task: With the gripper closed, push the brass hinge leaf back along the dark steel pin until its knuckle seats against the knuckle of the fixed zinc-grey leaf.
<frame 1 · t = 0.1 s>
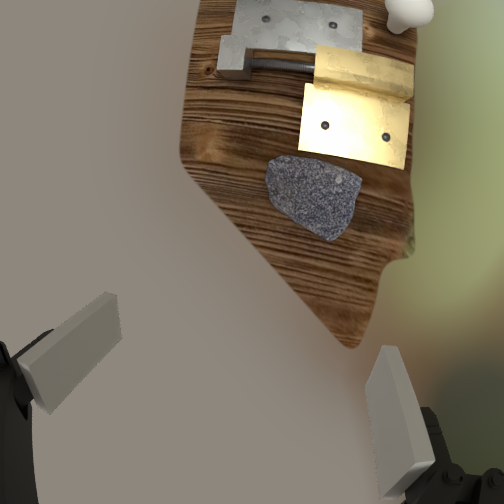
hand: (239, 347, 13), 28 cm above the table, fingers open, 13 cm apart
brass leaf: (360, 106, 31), point 3 cm above the table, slide at 8.0 cm
rock: (308, 194, 38), on the table
zinc leaf: (299, 70, 33), on the table
lightbulb: (393, 29, 28), on the table
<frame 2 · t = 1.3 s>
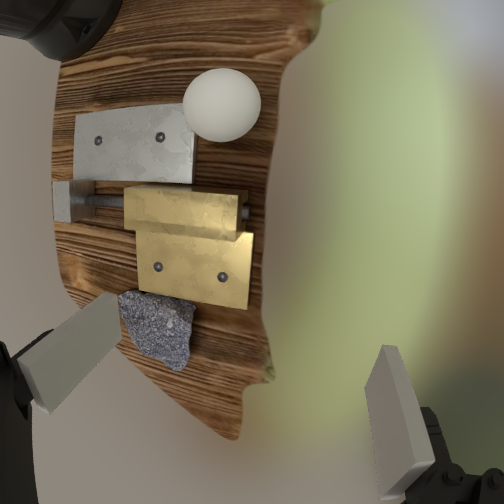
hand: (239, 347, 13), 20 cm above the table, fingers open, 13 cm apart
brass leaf: (184, 250, 31), point 3 cm above the table, slide at 8.0 cm
rock: (161, 321, 38), on the table
zinc leaf: (133, 200, 33), on the table
lightbulb: (242, 118, 29), on the table
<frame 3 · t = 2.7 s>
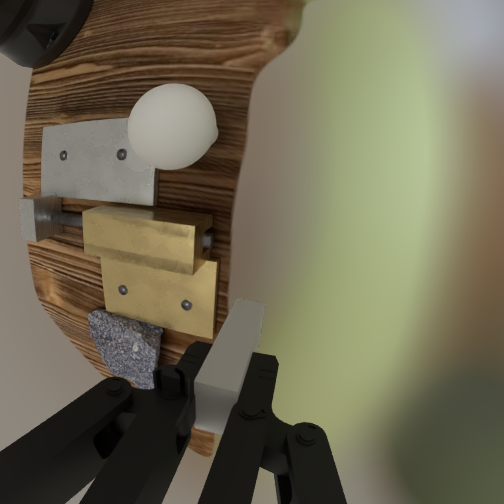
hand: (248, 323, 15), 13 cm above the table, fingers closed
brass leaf: (145, 277, 28), point 3 cm above the table, slide at 8.0 cm
rock: (131, 341, 36), on the table
zinc leaf: (98, 219, 30), on the table
lightbulb: (208, 134, 26), on the table
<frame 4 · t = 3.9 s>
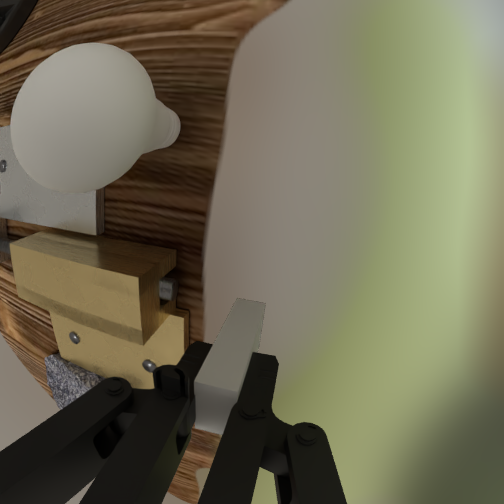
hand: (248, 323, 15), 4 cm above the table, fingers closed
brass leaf: (93, 330, 19), point 3 cm above the table, slide at 8.0 cm
rock: (96, 390, 26), on the table
zinc leaf: (41, 247, 21), on the table
lightbulb: (168, 129, 17), on the table
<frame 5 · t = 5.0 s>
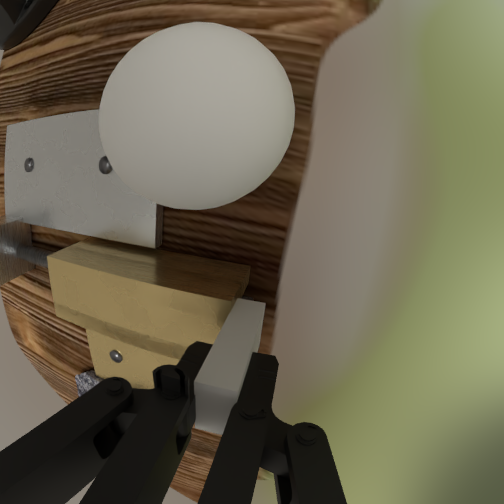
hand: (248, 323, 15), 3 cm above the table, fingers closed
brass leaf: (147, 351, 19), point 3 cm above the table, slide at 8.0 cm, touching gripper
rock: (133, 408, 26), on the table
zinc leaf: (76, 258, 21), on the table
lightbulb: (246, 135, 16), on the table
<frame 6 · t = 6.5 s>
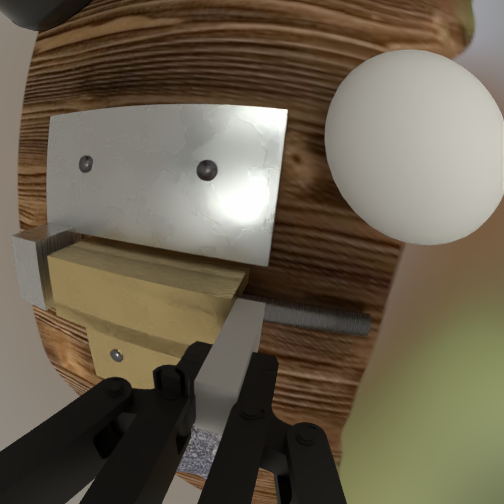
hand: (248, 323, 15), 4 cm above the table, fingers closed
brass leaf: (147, 350, 19), point 3 cm above the table, slide at 0.9 cm, touching gripper
rock: (196, 428, 25), on the table
zinc leaf: (150, 275, 20), on the table
lightbulb: (368, 153, 15), on the table
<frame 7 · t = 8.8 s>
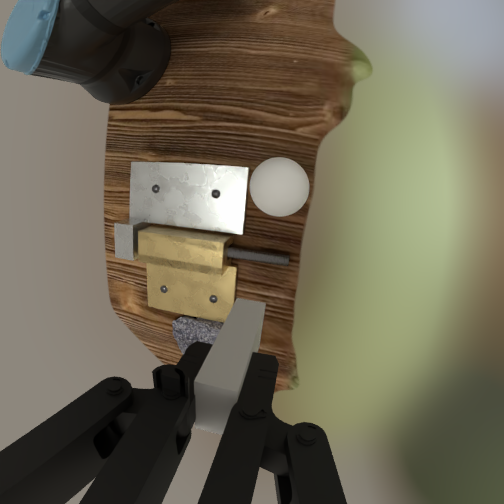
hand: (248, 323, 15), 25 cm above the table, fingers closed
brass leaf: (184, 278, 41), point 3 cm above the table, slide at 0.6 cm
rock: (210, 340, 47), on the table
zinc leaf: (188, 242, 42), on the table
lightbulb: (285, 183, 37), on the table
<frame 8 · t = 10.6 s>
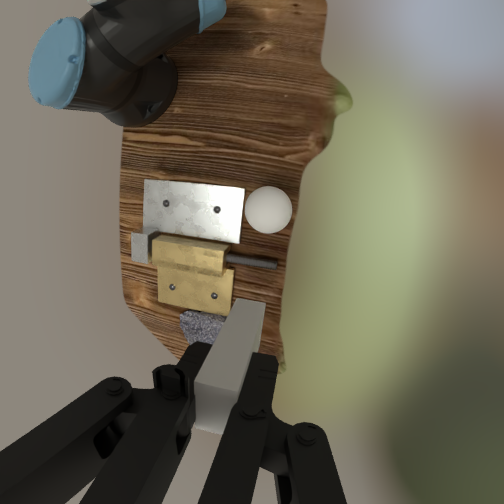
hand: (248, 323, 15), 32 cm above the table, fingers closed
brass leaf: (190, 279, 49), point 3 cm above the table, slide at 0.6 cm
rock: (211, 330, 55), on the table
zinc leaf: (193, 248, 50), on the table
lightbulb: (274, 201, 46), on the table
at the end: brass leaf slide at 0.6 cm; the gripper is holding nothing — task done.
